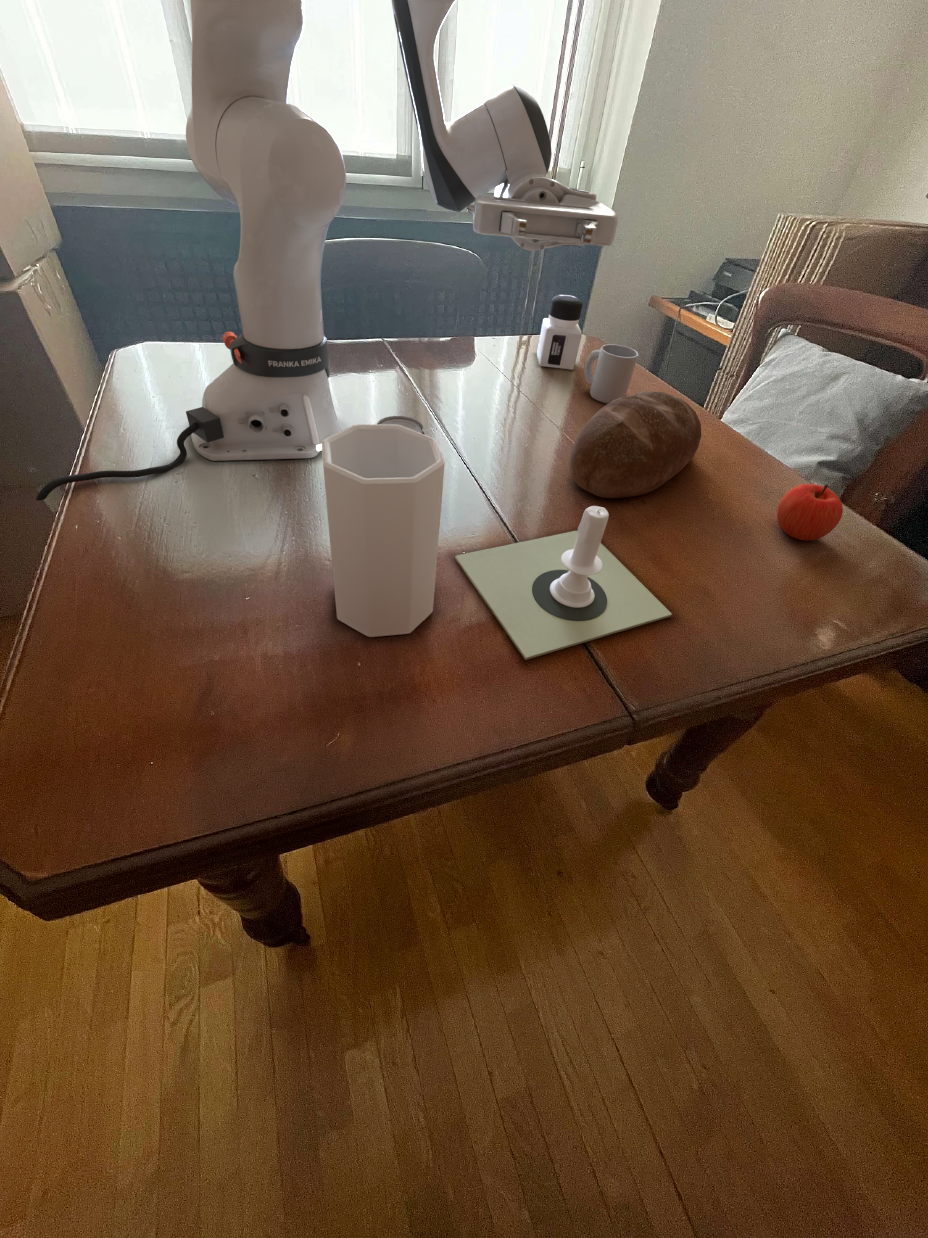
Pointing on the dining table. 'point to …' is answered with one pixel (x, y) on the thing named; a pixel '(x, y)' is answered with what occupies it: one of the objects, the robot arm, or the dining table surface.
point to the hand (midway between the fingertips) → (555, 232)
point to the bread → (634, 445)
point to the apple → (809, 511)
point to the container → (560, 333)
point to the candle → (581, 561)
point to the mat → (531, 613)
